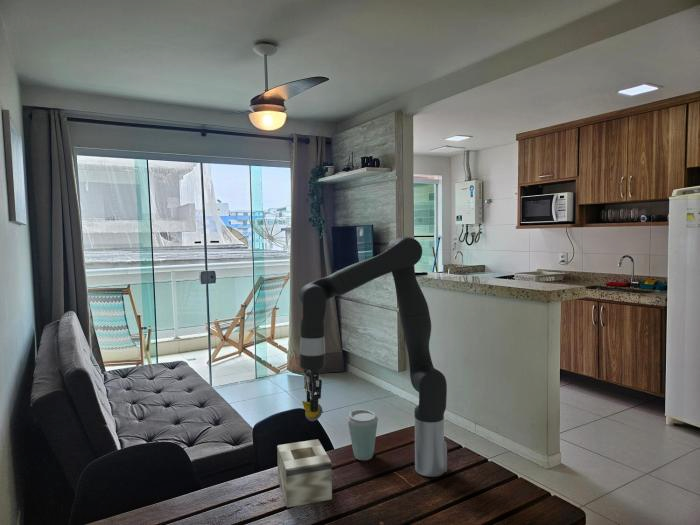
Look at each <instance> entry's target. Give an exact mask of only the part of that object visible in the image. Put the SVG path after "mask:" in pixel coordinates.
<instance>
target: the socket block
mask: <svg viewBox="0 0 700 525" xmlns="http://www.w3.org/2000/svg"><path fill="white" fill-rule="evenodd" d="M276 450H277V453H276V454H277V480H278V484H279V487H280V490H281V494H282V497H283V500H284V503H285V505H286V506H285V507H286V508H292V507H298V506H302V505H303V506H304V505H309V504H314V503H320V502H324V501H330V500H332V499H333V483H332V482H333V481H332V469H333V464H332V460H331V458H330V457H329V455H328V454H327V452H326V451H325V449H324V447H323V445H322V443H321V441H320V440H319V439H310V440H305V441H297V442H290V443H284V444H278V445H277V446H276Z"/></svg>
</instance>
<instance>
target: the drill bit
mask: <svg viewBox="0 0 700 525" xmlns="http://www.w3.org/2000/svg"><path fill="white" fill-rule="evenodd" d="M301 402H302V406H303V409H304V411H305V412H304V414H305V415H304V416H305V418H306V419H307V420H308V421H310V422H315V421H317V420H318V419H319V418H320V417H321V416H322V414H323V413H324V411H323V407H322V406H321V404H319V403H318V411H317V412H311V410H310V403H309V402H307V401H305V400H302V401H301Z"/></svg>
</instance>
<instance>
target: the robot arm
mask: <svg viewBox="0 0 700 525" xmlns="http://www.w3.org/2000/svg"><path fill="white" fill-rule="evenodd" d="M422 255H423V247H422V245H421V242H419V240H417V239H416V238H414V237H411V236H409V237H408V236H399V237H394V238H392V239H391V240H389V242H388V244H387V247H386V250H385V251H383V252H382V253H381V252H380V253H379V254H378V255H375V256H373V257H370V258H367V259H364V260H362V261H359V262H355V263H353V264H351V265H348V266H345V267H343V268H342V269H339V270H337V271H335V272H333V273H331V274H329V275H328V276H325V277H321V278H319V279H317V280H314V281H311V282H309V283H307V284H305V285H303V286H302V287H301V289H300V291H299V295H298V296H299V301H300V303H302V318H301V321H300V339H299V368H301V369H302V370H303V378H304V379H303V383H304V384H303V385H304V386H303V387H304V389H305V390H304V391H305V393H306V402H309V403H310V410H311V412H317V411H318V404H319V400H320V399H322V384H323V381H322V379H321V374H320V373H319V371H320V370H322V369H324V368H326V341H325V318H326V317H325V316H326V310H327V300H329V299H331V298H333V297H339V296H342V295H346V294H347V293H349V292H351V291H353V290H355V289H357V288H359V287H362V286H363V285H365V284H367V283H369V282H372V281H373V280H375V279H377V278H378V279H379V277H382V276H384V275H387V274H391V276H392V278H393V281H394V287H395V288H394V289H395V292H396V299H397V305H398V306H397V307H398V312H399V317H400V322H401V323H400V324H401V327H402V331H403V336H404V341H405V342H404V343H405V346H406V350H407V355H408V364H409V366H408V367H409V378H410V383H411V385H412V388H414V390H415V391H417V393H418V405H416V406H415V407H414V470H415V472H416V473H417V474H419V475H421V476H422V477H423V476H424V477H435V478H436V477H440V476H442V475H443V474H444V473H447V472H448V465H447V463H448V455H447V454H448V450H447V449H448V446H447V441H446V440H445V412H446V409H447V391H448V389H447V388H448V385H447V379H446V376H445V375H444V373H443V372H441V371H440V370H438V369H436V368H435V367H434V364H433V361H432V356H431V351H430V341H431V340H430V339H431V335H432V334H431V333H432V319H431V314H430V308H429V304H428V302H427V299H426V297H425V295H424V292H423V291H422V288H421V287H420V284H419V282H418V280H417V275H416V271H415V265H416V264H418V262H420V260H421V258H422ZM315 393H316V394H315Z"/></svg>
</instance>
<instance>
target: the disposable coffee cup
mask: <svg viewBox="0 0 700 525" xmlns="http://www.w3.org/2000/svg"><path fill="white" fill-rule="evenodd" d="M346 421H347V423H348V424H347V426H348V431H349V435H350V436H349V437H350V440H351V442H350V443H351V445H352V446H351V447H352V451H353V456H354V458H355V459H357V460H359V461H369V460H371V459H373V456H374V455H375V454H374V453H375V445H376V436H377V429H378V428H377V427H378V421H379V418H378V416H377V414H376V413H375V412H373V411H371V410H369V409H364V408H356V409H352V410H351V411H349V413H348V414H347V417H346Z"/></svg>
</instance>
